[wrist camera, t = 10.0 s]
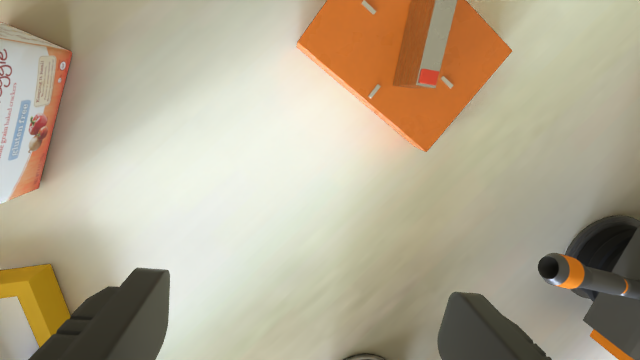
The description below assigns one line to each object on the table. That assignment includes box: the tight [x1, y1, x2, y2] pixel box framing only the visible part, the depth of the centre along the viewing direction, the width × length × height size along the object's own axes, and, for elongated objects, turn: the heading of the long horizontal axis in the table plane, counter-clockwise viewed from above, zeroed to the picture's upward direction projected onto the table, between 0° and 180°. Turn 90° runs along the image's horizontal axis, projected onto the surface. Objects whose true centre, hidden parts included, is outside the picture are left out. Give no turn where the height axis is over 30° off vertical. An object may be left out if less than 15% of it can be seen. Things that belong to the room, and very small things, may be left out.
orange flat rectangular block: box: [296, 0, 512, 152], centre depth 29 cm, size 16×12×3 cm
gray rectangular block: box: [393, 0, 457, 88], centre depth 25 cm, size 7×2×6 cm, turn 171°
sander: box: [538, 216, 640, 360], centre depth 34 cm, size 15×25×13 cm, turn 73°
